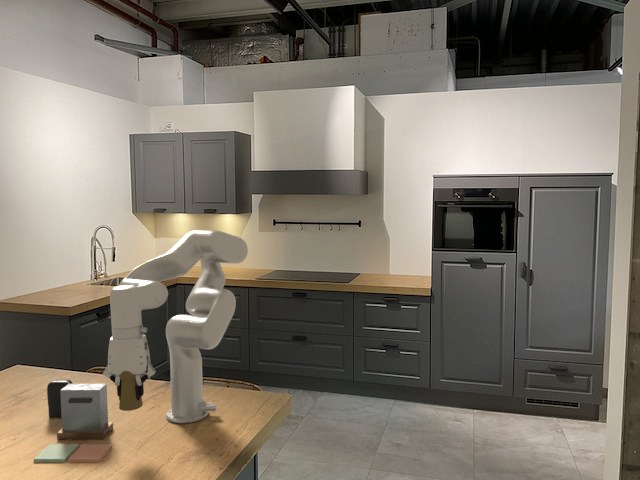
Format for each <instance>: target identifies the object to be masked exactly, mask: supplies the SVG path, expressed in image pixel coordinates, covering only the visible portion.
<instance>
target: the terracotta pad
mask: <svg viewBox="0 0 640 480" xmlns="http://www.w3.org/2000/svg"><path fill="white" fill-rule="evenodd" d="M112 446H113V445H112V444H111V443H109V444H106V443H105V444H102V443H101V444H97V443H96V444H89V443H88V444H81V445H79V448H78V449H77V450H76V451H75V452H74V453H73V454H72V455H71V456H70V457H69V458H68V463H87V462H88V463H94V462H95V463H100V462H101V461H102V460H103V458H105V457H106V455H107V454H108V452H109V451H110V450H111V449H112Z"/></svg>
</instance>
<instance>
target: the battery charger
mask: <svg viewBox="0 0 640 480" xmlns="http://www.w3.org/2000/svg"><path fill="white" fill-rule="evenodd" d="M68 384H74V383H73V381H72V380H70V379H64V378H63V379H60V378H59V379H53V380H52V381H50V382H49V383H48V384H47V386H46V395H47V407H48V418H50V419H62V416H61V394H60V390H61V389H62V388H64V387H65V386H66V385H68Z"/></svg>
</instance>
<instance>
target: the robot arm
mask: <svg viewBox="0 0 640 480" xmlns="http://www.w3.org/2000/svg"><path fill="white" fill-rule="evenodd" d="M248 248H249V247H248V244H247V242H246V241H245V240H244V239H243V238H242V237H239V236H236V235H232V234H229V233H227V232H224V231H220V230H213V229H209V230H208V229H194V230H190V231H189V232H187V233H186V234H185V235H183V236H182V238H180V239H179V240H178V241H177V242H176V243H175V244H173V246H172V247H170V249H168V251H167V252H165V253H164V254H162V255H158V256H157V257H154V258H153V259H149V260H148V261H146V262H144V263H142V264H140V265H138V266H136V267H135V268H134V269H132V270H131V271H130V272H129V273H128V274H127V275H126V276H125V277H123V279H122V280H121V281H120V283H119V284H118V285H117V286H114V287H112V288H111V289H110V291H109V302H110V305H109V306H110V321H111V324H110V325H111V337H110V339H109V342H108V343H109V344H108V352H107V366H106V367H105V369H104V371H103V373H102V376H104V377H107V379H109V380H110V381H111V382H113V384H114V386H115V387H116V390H117V391H116V393H117V394H116V395H117V397H118V400H119V401H120V398H121V379H120V377H119V375H120V374H121V373H122V372H123V371H129V372H131V373H132V374H134V375H136V381H137V385H136V386H135V391H136V399H137V400H139V399H140V396H141V398H142V397H143V396H144V393H145V391H144V383H145V382H146V381H147V380H148V379H149V378H151V377H152V376H154V375H155V374H156V372H157V371H156V368H154V366H153V364H152V363H151V356H150V349H149V344H148V339H147V336H146V334H144V333H147V332H148V327H145V326H143V322H142V311H143V310H149V309H156V308H159V307H161V306H163V305H164V304H165V303H166V301H167V300H168V296H169V291H168V288H167V286H166V285H165V284H164V283H163V282H164V281H169V280H174V279H178V278H181V277H183V276H185V275H186V274H187V273H189V272H190V270H191V269H192V268H193V267H194V266H195V265H196V264H197V263H198V262H199V261H200V267H201V268H200V269H201V271H200V275H199V277H198V278H197V280H196V283H195V284H194V286H193V288H192V289H191V292H190V293H189V295H188V297H187V299H186V301H185V310H186V311H187V313H189V314H177V315H175V316H172V317H171V318H170V319H169V320H168V321H167V323H166V327H165V337H166V340H167V341H166V342H167V345H168V351H169V365H170V366H169V367H170V369H169V370H170V403H171V404H170V405H171V408H170V409H168V410H167V412H166V415H165V417H166V419H167V420H168V421H169V422H171V423H175V424H189V423H190V424H191V423H194V422H199V421H201V420H203V419H205V418H207V416H208V415H209V411H210V412H217V410H218V406H217V404H215V402H212V401H211V402H208V401H206V397H203V386H204V385H203V358H202V354H201V351H200V349H201V350H213V349H215V348H217V346H218V345H219V344H220V343H221V341H222V339H223V337H224V335H225V333H226V331H227V329H228V327H229V325H230V323H231V321H232V318H233V316H234V314H235V310H236V308H237V307H236V305H237V301H236V297H235V294H234V293H233V292H232V291H231V290H229V289H226V288H224V287H225V284H226V276H225V273H224V272H225V271H224V270H223V268H222V266H221V264H235V265H236V264H237V265H238V264H241V263H242V262H244V261H245V260H246V258H247V256H248V252H249V249H248Z"/></svg>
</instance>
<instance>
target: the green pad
mask: <svg viewBox="0 0 640 480" xmlns="http://www.w3.org/2000/svg"><path fill="white" fill-rule="evenodd" d="M79 447H80V445H79V444H48V445H47V446H46V447H45V448H44V449H43V450H42V451H40V452H39V454H37V455H36V456H35V457H33V463H57V462H58V463H66V462H67V460H69V458H70V457H71V456H72V455H73V454H74V453H75V452H76V451H77V450H78V448H79Z"/></svg>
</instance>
